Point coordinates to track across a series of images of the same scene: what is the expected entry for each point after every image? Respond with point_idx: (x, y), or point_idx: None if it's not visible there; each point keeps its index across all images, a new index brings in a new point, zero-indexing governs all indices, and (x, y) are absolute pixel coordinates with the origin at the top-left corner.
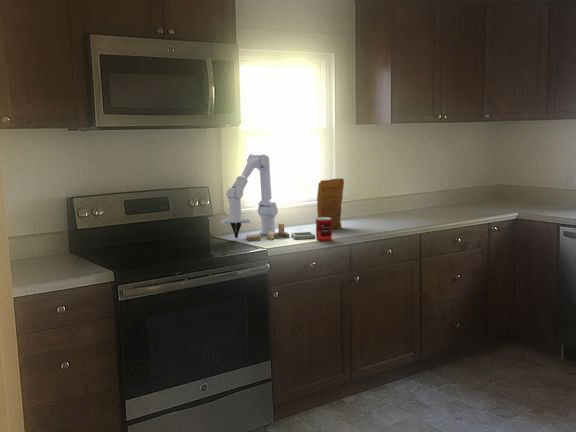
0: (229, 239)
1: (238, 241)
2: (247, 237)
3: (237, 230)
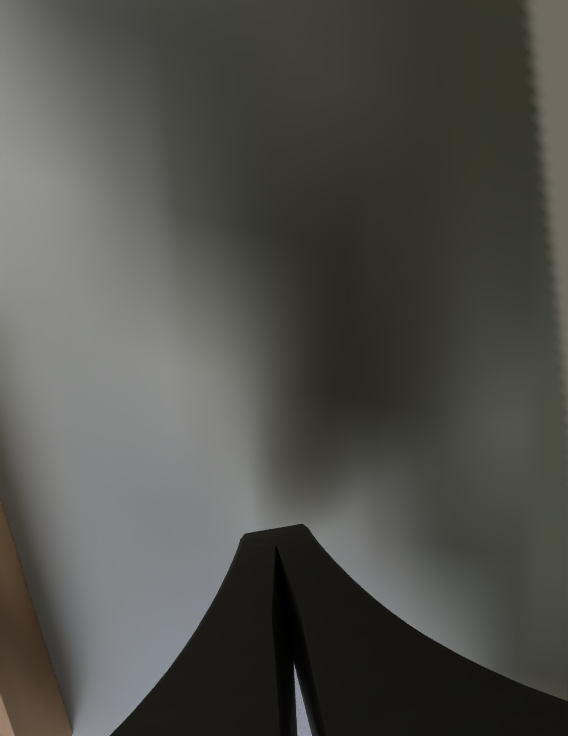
0: None
1: (216, 365)
2: (13, 639)
3: (241, 642)
